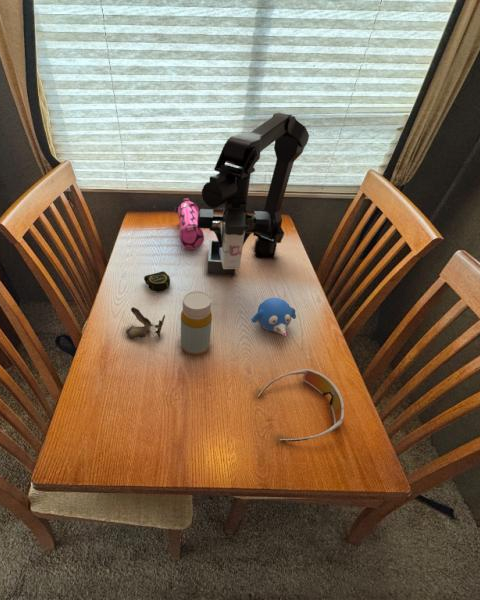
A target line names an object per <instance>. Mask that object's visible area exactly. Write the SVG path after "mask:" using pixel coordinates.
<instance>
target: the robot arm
mask: <svg viewBox="0 0 480 600" xmlns="http://www.w3.org/2000/svg"><path fill="white" fill-rule="evenodd" d="M309 134H310V133H309V131H308V129H307V127H306V125H304V124H302V123H300V122H299V121H298V120H297V118H296V117H295V115H293V114H292V113H286V112H281V111H278V112H274V113H273V115H272V117H270V118H269V119H268V120H266V121H264V122H263V123H262V124H260V125H259V126H257V127H256V128H254V129H253V130H252V131H250V132H246V133H237V134H234V135H232V136H230V137H229V138H227V140H226V142H225V143H224V144H223V147H222V149H221V152H220V154H219V155H218V159H217V161H216V164H215V166H214V170H213V171H215V172H217V174H212V175H210V176H209V181H208V182H206V183H205V184H204V185H203V186H202V189H201V197H202V199H203V202H204V203H205V204H206V206H208V207H209V208H212V209H209V208H207V209H206V208H200V209H199V211H198V225H197V227H198V228H201V229H208V230H209V231H210V232H213V233H214V234H215V237H216V240H218V243H219V246H220V248H221V247H222V236H221V226H222V223H225V234H227V235H243V234H244V231H245V234H244V241H243V246H244V245H245V243H246V241H247V240H248V238H249V237H250V235H252V234H253V235H252V236H254V237H257V238H255V241H254V246H253V252H254V254H255V258H259V259H260V258H261V259H276V251H277V250H276V249H277V245H278V244H281V243H282V240H283V238H284V235H285V232H284V230H283V228H282V225H283V224H282V223H283V218H282V213H281V208H282V204H283V201H284V197H285V194H286V191H287V187H288V183H289V181H290V180H289V179H290V177H291V173H292V170H293V167H294V163H295V161H296V160H297V159H298V158H299V157H300V156H301V155H302V154H303V152H304V150H305V147H306V146H307V145H308V142H309V138H310V135H309ZM273 143H274V145H273V149H274V154H275V157H276V161H275V165H274V168H273V173H272V177H271V180H270V185H269V188H268V192H267V196H266V200H265V203H264V207H263V209H262V210H261V211H260V210H257V211H256V210H254V212H253V214H249V213H248V212H247V206H248V205H247V204H248V196H249V189H250V181H251V175H252V174H253V173H254V172H256V168H255V165H256V164H257V162H258V161H259V160H260V159H261V153H262V152H263V150H264V149H266V148H268V147H269V146H270V145H271V144H273ZM232 165H233V166H232ZM222 205H223V210H222V214H214V209H215V208H216V209H217V208H219V207H220V206H222Z"/></svg>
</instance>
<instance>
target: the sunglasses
mask: <svg viewBox="0 0 480 600" xmlns="http://www.w3.org/2000/svg"><path fill="white" fill-rule="evenodd" d="M293 375H296V376H297V375H302V381H303V382H304V383H306V384H308V385H309V386H311V387H312V388H313V389H315V390H316V391H317V392H319V393H320V394H321V395H322V396H326V395H330V398H329V403H328V405H329V406H330V409H331V412H332V416H333V425H332V426H331V427H329V428H328V429H326V430H324V431H323V432H321V433H318V434H316V435H311V436H307V437H299V438H279V441H281V442H300V441H308V440H312V439H317V438H318V437H321V436H324V435H326V434H329V433H332V432H333V431H335V430H336V429H338V428H339V427H340V426H342V425H343V424H342V423H343V421H344V416H345V403H344V399H343V397H342V393H341V392H340V390H339V388H338V387H337V385H336V384H335V383H334V382H333V381H332V380H331V379H330V378H328V377H327V376H326V375H324V374H323V373H321V372H319V371H316V370H313V369H310V368H309V369H307V368H306V369H305V368H304V369H299V370H294V371H291V372H287V373H285V374H281V375H280V376H278V377H275V378H274V379H272V380H271V381H269V383H268V384H266V385H265V386H264V388H262V390H261V391H260V392H259V394H258V395H257V397H258V398H259V397H261V396H262V394H263V393H264V392H265V391H266V390H267V389H268V388H269V387H270V386H271V385H272V384H273V383H275V382H277V381H279V380H281V379H282V378H284V377H288V376H293Z"/></svg>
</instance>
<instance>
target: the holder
mask: <svg viewBox="0 0 480 600" xmlns="http://www.w3.org/2000/svg"><path fill="white" fill-rule="evenodd" d="M219 248H220V246H219V243H218V239H216V240H215V239H209V241H208V257H207V272H206V275H214V276H215V275H216V276H231V277H235V275H236V269H223V266H222V262H221V258H220V254H219Z"/></svg>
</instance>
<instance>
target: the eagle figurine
mask: <svg viewBox="0 0 480 600" xmlns="http://www.w3.org/2000/svg"><path fill="white" fill-rule="evenodd" d="M130 311H131V312H132V314H133V315H134V316H135V317H136V320H137V321H139V322H140V323H141V324H142V325H143V326H134V325H131V326H130V327H129V328H127V329H126V332H125V333H126V336H127V338H129V339H145V338H146V336H147V335H148V334H149V336H150V338H153V337H154V336H155V335H157V337H159V338H161V331H162V328H163V325H164V321H165V319H166V314H163V316H162V318H161V319H159V321H158V324H152V322H151V320H150V319H148V318H147V317H145V316H144V315H143V313H142V312H141V311H140V309H138V308H136V307H133V306H132V307H131V308H130Z"/></svg>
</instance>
